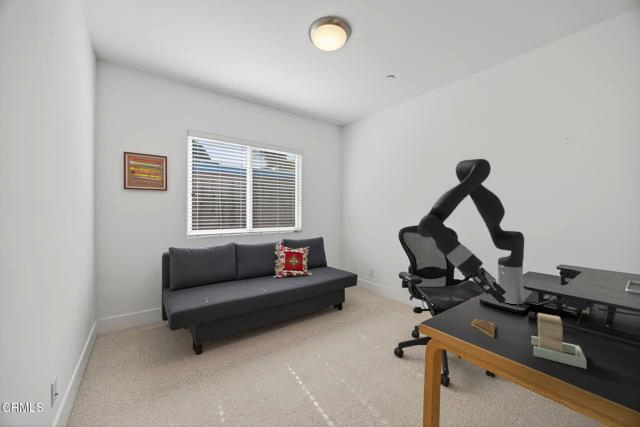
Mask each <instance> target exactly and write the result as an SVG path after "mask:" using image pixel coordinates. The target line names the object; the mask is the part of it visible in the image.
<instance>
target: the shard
mask: <svg viewBox="0 0 640 427" xmlns="http://www.w3.org/2000/svg"><path fill="white" fill-rule="evenodd" d="M470 326H471V327H474V328H475V329H477V330H479V331H480V332H481V333H484V334H486V335H487V336H490V337H491V338H495V331H496V325H495V323H493V322H491V321H488V320H484V319H480V318H479V319H478V318H474V319H473V321H472V322H470Z"/></svg>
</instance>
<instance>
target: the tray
mask: <svg viewBox="0 0 640 427" xmlns="http://www.w3.org/2000/svg"><path fill="white" fill-rule="evenodd" d="M531 345H532V346H533V356H534V357H536V358H537V357H538V358H541V359H545V360H549V361H554V362H558V363H560V364H561V363H562V364H565V365H570V366H573V367H579V368H581V369H585V370H587V359H586V357H585V354H584V352H583V351H582V349H581V346H580V345H579V344H577V345H576V344H572V343H567V342H564V341H563V353H561V352H557V351H553V350H549V349H544V348H540V347H538V336H535V335H531Z"/></svg>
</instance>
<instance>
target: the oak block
mask: <svg viewBox="0 0 640 427" xmlns="http://www.w3.org/2000/svg"><path fill="white" fill-rule="evenodd" d="M563 332H564V331H563V321H562V319H561V317H560V316H558V315H551V314H547V313H542V312H538V313H537V337H538V346H537V347H540V348H544V349H549V350H553V351H557V352H561V353H564V352H563V342H564V341H563V340H564V339H563V337H564V336H563Z"/></svg>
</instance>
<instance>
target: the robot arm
mask: <svg viewBox="0 0 640 427" xmlns="http://www.w3.org/2000/svg"><path fill="white" fill-rule="evenodd" d="M491 169H492V168H491V164H490V162H489V160H487V159H485V158H474V159H473V158H472V159H466V160H465V159H464V160H461V161H459V162H458V163H457V165H456V166H455V175H456V178H457V179H458V181H459V182H460V183H458V184H456V185H455V186H454V187H452V188H450V189H449V190H447V191H446V192H444V193H443V194H442V195H441V196H440V197H439V198H438V199H437V200H436V201H435V203H434V204H433V205H432V207H431V209H430V211H428V213H427V214H426V215H424V216H423V217H422V218H421V219H420V221H419V222H418V225H417V232H418V234H419V235H420V236H421V237H422V238H427V239H428V238H432V240H434V242H435V247H436V248H437V249H438V250H439V252H441V253H442V255H444V256H445V257H446V258H447V259H448V261H449V262H450V263H451V264H452V265H453V266H454V267H455V268H456V269H457V270H458V271H459V272H460V273H461V274H463V276H465V277H469V276H471V275H472V277H473V278H472V281H473V282H475V284H476V285H477V286H479V287H480V288H481V289H482V291H483V292H485V294H486V295H490V296H492V298H493V299H495V300H496V301H497V302H498V303H499V304H504V303H503V302H506V303H511V304H521V303H523V304H524V266H523V264H524V258H525V257H524V256H525V254H524V252H525V236H524V234H523V233H522V231H518V230H517V231H515V230H503V229H502V228H501V222H502V221H503V219H504V217H505V213H506V211H505V207H504V205H503V203H502V201H501V199H500V198H499V197H498V196H497V195H496V193H494V192H492V190H490V189H488V188H487V187H485V185H483V184H482V183H484V182H485V181H486V180H487V179H488V177H489V176H490V173H491ZM468 196H469V197H470V198H471V201H472V202H473V203H474V205H475V207H476V210H477V211H478V213H479V215H480V217H481V218H482V220H483V222H484V223H485V226H486V228H487V230H488V233H489V235H490V238H491V240H492V243H493V246H494V247H496V249H498V250H501V251H509V252H510V254H509V255H507V256H502V257H499V258H497V259H498V260H497V280H496V277H494V276H492V274H490V273H489V272H488V271H487V270H486V269H485V268H484V266H483V261H482V260H481V259H480V258H479V257H477V255H476V254H474V253H473V252H472V251H471V250H470V249H469V248H467V246H465V245H464V244H463V243H461V242H460V241H459V240H458V239H457V238H456V237H454V236H453V235H452V233H450V230H449V229H448V228H447V226H446V225H445V223H444V222H445V221H446V220H448V218H449V217H450V216H451V215H452V214H453V212H454V211H455V210H456V208H457V207H458V206H459V205H460V204H461V203H462V201H464V199H466V198H467V197H468ZM482 266H483V267H482Z"/></svg>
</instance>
